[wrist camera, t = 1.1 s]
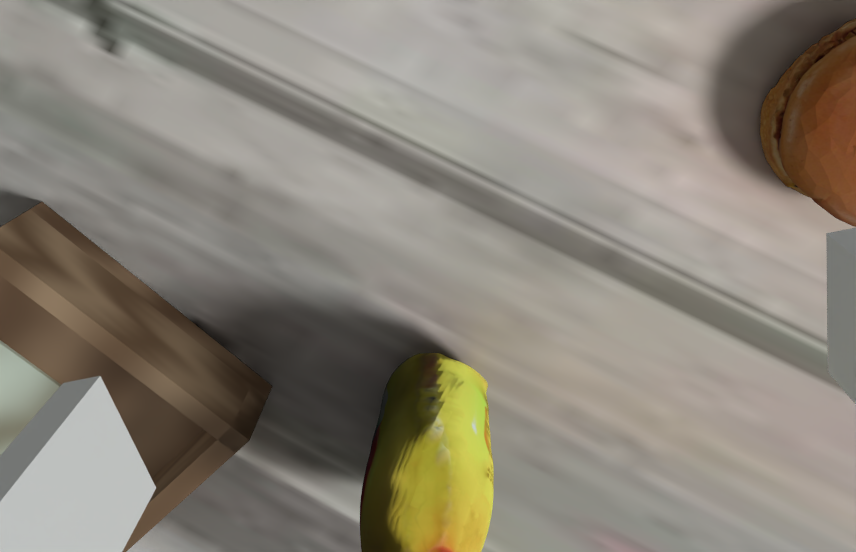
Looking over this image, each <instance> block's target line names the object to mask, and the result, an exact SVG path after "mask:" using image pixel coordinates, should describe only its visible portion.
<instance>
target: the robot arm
mask: <svg viewBox="0 0 856 552" xmlns="http://www.w3.org/2000/svg"><path fill="white" fill-rule="evenodd" d="M827 337H828V372H829V374H830V375H831V376H832V377H833V378H834V379H835V381H836V382H837V383H838V384H839V385H840V387H841V388H842V389H843V390H844V391H845V392H846V394H847V395H848V396H849V397H850V398H851V399H852V401H853V402H854V403H855V404H856V228H852V229H847V230H842V231H837V232H832V233H827ZM155 489H156V486H155V484H154V482H153V480H152V478H151V476H150V474H149V472H148V470H147V468H146V466H145V464H144V462H143V460H142V458H141V456H140V454H139V452H138V450H137V448H136V446H135V444H134V442H133V440H132V438H131V436H130V434H129V432H128V430H127V428H126V426H125V424H124V422H123V420H122V418H121V416H120V414H119V412H118V410H117V408H116V406H115V404H114V402H113V400H112V398H111V396H110V394H109V392H108V390H107V388H106V386H105V384H104V382H103V380H102V378H101V376H96V377H91V378H86V379H81V380H76V381H71V382H66V383H63V384H62V385H61V386H60V387H59V388H58V390H57V391H56V392H55V393H54V394H53V395H52V397H51V398H50V399H49V400H48V401H47V402H46V403H45V405H44V406H43V407H42V408H41V409H40V410H39V412H38V413H37V414H36V415H35V416H34V417H33V418H32V420H31V421H30V422H29V423H28V424H27V425H26V427H25V428H24V429H23V430H22V431H21V432H20V434H19V435H18V436H17V437H16V438H15V439H14V440H13V442H12V443H11V444H10V445H9V446H8V447H7V449H6V450H5V451H4V452H3V453H2V454H1V455H0V552H122V551H123V549H124V548H125V546H126V544H127V542H128V540H129V538H130V536H131V534H132V533H133V531H134V529H135V527H136V525H137V523H138V521H139V519H140V518H141V516H142V514H143V512H144V510H145V508H146V506H147V504H148V503H149V501H150V499H151V497H152V495H153V493H154V491H155Z"/></svg>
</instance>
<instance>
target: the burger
mask: <svg viewBox="0 0 856 552" xmlns="http://www.w3.org/2000/svg"><path fill="white" fill-rule="evenodd" d="M760 136H761V142H762V148H763V152H764V155H765V158H766V160H767V162H768V163H769V164H770V166H771V168H772V170H773V171H774V173H775V174H776V175H777V176H778V177H779V178H780V180H781V181H782V182H783V183H784V184H785V185H786V186H787V187H790V188H792V189H794V190H796V191H798V192H800V193H802V194H803V195H806V196H808V197H810V198H812V199H813V200H814V202H816V203H817V204H818V205H820V206H821V207H822V208H823V209H825V210H826V211H827V212H829V213H830V214H831V215H833V216H834V217H835V218H837V219H839V220H841V221H843V222H846V223H848V224H850V225H852V226H855V227H856V19H854V20H851V21H849V22H847V23H845V24H844V25H843V26H842V27H840V28H839V29H838V30H836V31H835V32H833V33H831V34H829V35H826V36H824V37H822V38H821V40H820V41H819V42H818V43H816V44H814V45H812V46H811V47H810V48H808V49H807V50H806V51H805V52H804V54H803V55H801V56H799V57H798V58H797V59H796V60H795V61H794V63H793V64H792V66H791V67H790V68H789V69H788V70H786V72H785V73H784V74H783V75H782V77H781V78H780V80H779V82H778V83H777V85H776V86H775V87H774V88H772V89H771V90H770V92H769V93H768V95H767V96H766V98H765V100H764V102H763V106H762V109H761V124H760Z"/></svg>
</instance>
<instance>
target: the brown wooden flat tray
mask: <svg viewBox="0 0 856 552" xmlns="http://www.w3.org/2000/svg"><path fill="white" fill-rule="evenodd" d="M96 376H101V378H102V380H103V382H104V384H105V386H106V388H107V390H108V392H109V394H110V396H111V398H112V400H113V402H114V404H115V406H116V408H117V410H118V412H119V414H120V416H121V418H122V420H123V422H124V424H125V426H126V428H127V430H128V432H129V434H130V436H131V438H132V440H133V442H134V444H135V446H136V448H137V450H138V452H139V454H140V456H141V458H142V460H143V462H144V464H145V466H146V468H147V470H148V472H149V474H150V476H151V478H152V480H153V482H154V484H155V486H156V489H155V491H154V493H153V495H152V497H151V499H150V501H149V503H148V504H147V506H146V508H145V510H144V512H143V514H142V516H141V518H140V519H139V521H138V523H137V525H136V527H135V529H134V531H133V533H132V534H131V536H130V538H129V540H128V542H127V544H126V546H125V548H124V549H123V551H122V552H126V551H127V550H128V549H130V548H131V547H132V546H133V545H134V544H135V543H136V542H137V541H138V540H140V539H141V538H142V537H143V536H144V535H145V534H146V533H147V532H148V531H149V530H151V529H152V528H153V527H154V526H155V525H156V524H157V523H158V522H159V521H161V520H162V519H163V518H164V517H165V516H166V515H167V514H168V513H169V512H171V511H172V510H173V509H174V508H175V507H176V506H177V505H178V504H179V503H181V502H182V501H183V500H184V499H185V498H186V497H187V496H188V495H189V494H191V493H192V492H193V491H194V490H195V489H196V488H197V487H198V486H199V485H200V484H202V483H203V482H204V481H205V480H206V479H207V478H208V477H209V476H210V475H212V474H213V473H214V472H215V471H216V470H217V469H218V468H219V467H220V466H222V465H223V464H224V463H225V462H226V461H227V460H228V459H229V458H230V457H232V456H233V455H234V454H235V453H236V452H237V451H238V450H239V449H240V448H242V447H243V446H244V445H245V444H246V443H247V442H248V441H249V440H250V438H251V435H252V433H253V431H254V428H255V426H256V424H257V421H258V419H259V416H260V414H261V412H262V409H263V407H264V405H265V402H266V400H267V398H268V395H269V393H270V391H271V388H272V386H271V385H270V384H269V383H268V382H266V381H265V380H264V379H263V378H261V377H260V376H259V375H258V374H256V373H255V372H254V371H253V370H251V369H250V368H249V367H248V366H246V365H245V364H244V363H243V362H241V361H240V360H239V359H238V358H236V357H235V356H234V355H233V354H231V353H230V352H229V351H228V350H226V349H225V348H224V347H223V346H221V345H220V344H219V343H218V342H216V341H215V340H214V339H213V338H211V337H210V336H209V335H208V334H206V333H205V332H204V331H203V330H201V329H200V328H199V327H198V326H196V325H195V324H194V323H193V322H192V321H190V320H189V319H188V318H187V317H185V316H184V315H183V314H182V313H180V312H179V311H178V310H177V309H175V308H174V307H173V306H172V305H170V304H169V303H168V302H167V301H165V300H164V299H163V298H162V297H160V296H159V295H158V294H157V293H155V292H154V291H153V290H152V289H150V288H149V287H148V286H147V285H145V284H144V283H143V282H142V281H140V280H139V279H138V278H137V277H135V276H134V275H133V274H132V273H130V272H129V271H128V270H127V269H125V268H124V267H123V266H122V265H120V264H119V263H118V262H117V261H115V260H114V259H113V258H112V257H110V256H109V255H108V254H107V253H105V252H104V251H103V250H102V249H100V248H99V247H98V246H97V245H96V244H94V243H93V242H92V241H91V240H89V239H88V238H87V237H86V236H84V235H83V234H82V233H81V232H79V231H78V230H77V229H76V228H74V227H73V226H72V225H71V224H69V223H68V222H67V221H66V220H64V219H63V218H62V217H61V216H59V215H58V214H57V213H56V212H54V211H53V210H52V209H51V208H49V207H48V206H47V205H46V204H44V203H43V202H41V203H39V204H38V205H36V206H34V207H33V208H31V209H29V210H28V211H26V212H24V213H23V214H21V215H20V216H18V217H16V218H15V219H13V220H11V221H10V222H8V223H6V224H5V225H3V226H2V227H0V455H1V454H2V453H3V452H4V451H5V450H6V449H7V447H8V446H9V445H10V444H11V443H12V442H13V440H14V439H15V438H16V437H17V436H18V435H19V434H20V432H21V431H22V430H23V429H24V428H25V427H26V425H27V424H28V423H29V422H30V421H31V420H32V418H33V417H34V416H35V415H36V414H37V413H38V412H39V410H40V409H41V408H42V407H43V406H44V405H45V403H46V402H47V401H48V400H49V399H50V398H51V397H52V395H53V394H54V393H55V392H56V391H57V390H58V388H59V387H60V386H61V385H62V384H63V383H66V382H71V381H76V380H81V379H86V378H91V377H96Z"/></svg>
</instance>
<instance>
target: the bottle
mask: <svg viewBox="0 0 856 552" xmlns="http://www.w3.org/2000/svg"><path fill="white" fill-rule="evenodd" d="M487 387H488V384H487V382H486V380H485V379H484V378H483V377H482V376H481V375H480V374H479V373H477V372H476V371H475V370H474V369H472V368H471V367H469V366H467V365H465V364H463V363H462V362H459V361H457V360H454V359H451V358H448V357H446V356H444V355H442V354H440V353H423V354H417V355H414V356H412V357H410V358H409V359H407V360H406V361H405V362H404V363H402V364H401V365H400V366H399V367H398V368H397V369H396V370H395V371H394V373H393V374H392V375H391V377H390V379H389V381H388V383H387V386H386V389H385V392H384V396H383V400H382V405H381V411H380V416H379V419H378V423H377V427H376V430H375V434H374V438H373V441H372V446H371V451H370V455H369V459H368V463H367V467H366V472H365V477H364V482H363V487H362V495H361V505H360V536H361V549H362V552H481V550H482V548H483V545H484V542H485V539H486V536H487V533H488V528H489V524H490V519H491V513H492V506H493V475H494V473H493V459H492V453H491V440H490V429H489V416H488V414H489V410H488V402H487V396H486V391H487Z"/></svg>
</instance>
